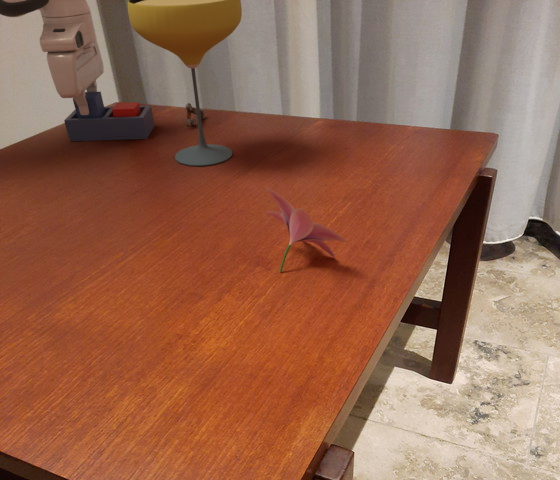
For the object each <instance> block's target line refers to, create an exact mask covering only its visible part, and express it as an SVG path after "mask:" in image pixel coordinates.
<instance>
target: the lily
mask: <svg viewBox="0 0 560 480" xmlns="http://www.w3.org/2000/svg"><path fill="white" fill-rule="evenodd" d="M264 189H265V190H266V192H268V194H269V195H270V196H271V197H272V198H273V200H274V201H275V203H276V204H277V206H278V208H279V210H280V212H279V211H275V210H269V211H266V214H268V215H269V216H271V217H273V218H275V219H277V220H279V221H280V222H282V223H283V224H285V226H286V228H287V232H288V235H289V243H288V245H287V247H286V249H285V251H284V254H283V258H282V260H281V265H280V268H279V273H283V268H284V265H285V262H286V258H287V255H288V253H289V250H290V248H291V247H292V245H293V244H295V243H300V242H302V243H303V242H304V243H305V242H306V243H313V244H316V245H317V246H318V247H320V248H321V249H322V250H324V251H325V252H326V253H328V255H330V256H331V257H332V258H334V259H336V255H335V254H334V252H333V250H332V249H331V248H330V246H329V245H328V244H327V243H326V242H329V241H330V242H331V241H336V242H341V243H348V240H347V239H346V238H344V237H343V236H342V235H341V234H340V233H338V232H337V231H335V230H333V229H331V228H330V227H329V226H326V225H324V224H321V223H318V222H313V219H312V217H311V216H310V214H309V213H308V211H306V210H305V209H304V208H301V207H299V208H295V207H294V206H293V205H292V203H290V202H289V200H287V199H286V198H285V197H283V196H282V195H281V194H279V193H278V192H276V191H274V190H273V189H271V188H269V187H268V186H264Z"/></svg>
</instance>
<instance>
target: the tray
mask: <svg viewBox="0 0 560 480" xmlns="http://www.w3.org/2000/svg"><path fill="white" fill-rule="evenodd" d="M139 106H140V112H141V114H140V116H137V117H114V116H113V111H112V109H113V108H114V107H115V106H104V108H105V113H106V114H105V115H104V116H103V118H79V119H78V117H77V113H76V110H75V109H74V110H73V111H72V112H71V113H70V114H69V115H68V116H67V117H66V118H65V119H64V120H63V122H64V125H65V129H66V133H67V136H68V140H69V142H89V141H91V142H93V141H95V142H96V141H121V140H122V141H123V140H147V139H148V138H149V137H150V134H151V132H152V131H153V129H154V128H155V120H154V114H153V108H152V105H149V104H147V105H139Z"/></svg>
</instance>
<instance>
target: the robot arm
mask: <svg viewBox="0 0 560 480" xmlns="http://www.w3.org/2000/svg"><path fill="white" fill-rule="evenodd" d="M36 11H39V13H40V16H41V19H42V23H43V24H42V30H41V31H42V32H41V34H40V37H39V45H40V49H41V51H42V52H43V53H46V62H47V65H48V70H49V72H50V75H51V78H52V81H53V85H54V88H55V90H56V92H57V94H58V95H59V97H60V98H61V99H73V98H74V100H75V102H76V104H77V105H78V107H79V111H80V114H81V115H88V114H89V113H90V112H91V110H90V106H89V104H88V103H87V101H86V98H85V96H86V94H85V92H98V84H97V83H98V82H97V80H98V79H99V78H100V77H101V76H102V75H103V74H104V72H105V69H104V67H105V66H104V62H103V58H102V54H101V51H100V47H99V43H98V40H97V34H96V29H95V24H94V21H93V16H92V12H91V8H90V6H89V3H88V1H87V0H0V16H3V17H7V18H20V17H23V16H25V15H27V14H29V13H32V12H36Z"/></svg>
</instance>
